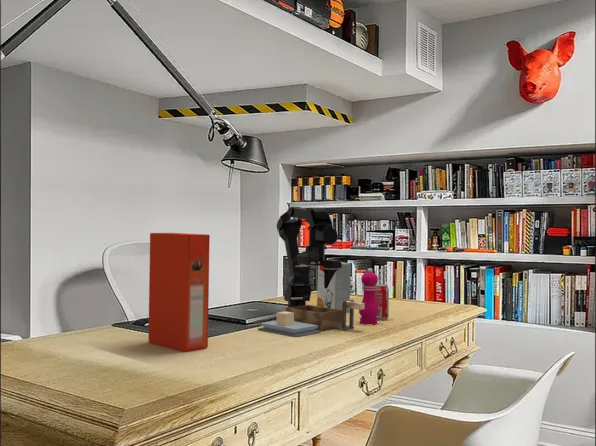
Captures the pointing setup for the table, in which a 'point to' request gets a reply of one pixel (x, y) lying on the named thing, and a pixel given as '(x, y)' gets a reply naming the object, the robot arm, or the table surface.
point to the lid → (288, 324)
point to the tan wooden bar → (355, 305)
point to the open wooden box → (323, 316)
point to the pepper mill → (369, 298)
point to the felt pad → (290, 333)
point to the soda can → (382, 301)
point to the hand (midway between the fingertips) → (315, 287)
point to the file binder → (179, 290)
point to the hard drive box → (334, 288)
